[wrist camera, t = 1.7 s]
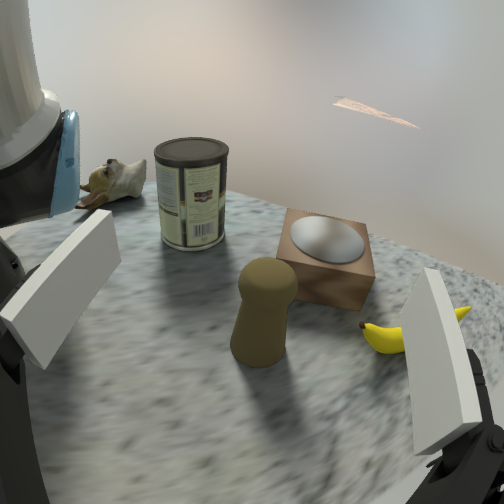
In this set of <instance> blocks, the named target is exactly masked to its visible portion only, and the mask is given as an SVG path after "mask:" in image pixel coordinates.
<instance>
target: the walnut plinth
mask: <svg viewBox="0 0 504 504" xmlns="http://www.w3.org/2000/svg"><path fill="white" fill-rule="evenodd" d="M276 259H279V260H282V261H284V262H285V263H287V264H288V265H289V266H290V267H291V268H292V269H293V270H294V272H295V274H296V276H297V281H298V290H297V293H296V296H295V298H294V299H295V300H301V301H306V302H311V303H317V304H322V305H328V306H333V307H339V308H345V309H350V310H356V311H360V310H361V308H362V305H363V303H364V301H365V299H366V297H367V295H368V293H369V290H370V288H371V286H372V284H373V282H374V279H375V271H374V265H373V259H372V253H371V248H370V243H369V238H368V233H367V228H366V224H363V223H359V222H354V221H349V220H345V219H339V218H335V217H330V216H325V215H320V214H316V213H310V212H305V211H300V210H295V209H290V208H287V211H286V215H285V220H284V224H283V229H282V233H281V238H280V242H279V247H278V251H277V256H276Z"/></svg>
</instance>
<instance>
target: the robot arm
mask: <svg viewBox="0 0 504 504" xmlns="http://www.w3.org/2000/svg"><path fill="white" fill-rule="evenodd" d="M79 194H80V131H79V117H78V113H77V112H76V111H69V110H65V111H64V112H62V113H61V109H60V104H59V101H58V99H57V97H56V95H55V94H54V93H52V92H51V91H49V90H45V89H42V88H41V86H40V82H39V77H38V72H37V66H36V61H35V55H34V50H33V43H32V36H31V28H30V19H29V8H28V0H0V228H4V227H8V226H12V225H17V224H21V223H25V222H30V221H35V220H40V219H45V218H52V217H53V216H54V215H58V214H62V213H65V212H69V211H71V210H73V209H74V208H75V207H76V205H77V203H78V200H79ZM120 262H121V257H120V252H119V247H118V243H117V238H116V233H115V227H114V222H113V217H112V211H107V210H101V209H98V210H97V211H95V212H94V213H93V214H92V215H91V216H90V217H89V218H88V219H87V220H86V221H85V222H83V223H82V224H81V225H80V226H79V227H78V228H77V229H76V230H75V231H74V232H73V233H72V234H71V235H70V236H69V237H68V238H67V239H66V240H65V241H64V242H63V243H62V244H61V245H60V246H59V247H58V248H57V249H56V250H55V251H54V252H53V253H52V254H51V255H50V256H49V257H48V258H47V259H46V260H45V261H44V262H43V263H42V264H39V265H38V266H36V267H35V268H33V269H32V270H30V271H29V272H28V273H27V274H26V275H25V272H24V269H23V267H22V264H21V262H20V260H19V258H18V256H17V255H16V254H15V253H14V252H13V250H12V249H11V248H10V247H9V246H8V245H7V244H6V242H5V241H4V240H3V239H2V238H1V236H0V504H50V503H49V500H48V497H47V493H46V490H45V486H44V483H43V479H42V475H41V472H40V467H39V463H38V459H37V454H36V450H35V445H34V439H33V434H32V428H31V422H30V415H29V407H28V398H27V388H26V375H25V364H24V360H23V359H22V358H23V356H24V355H25V354H26V356H27V357H28V358H29V360H30V361H31V362H32V363H33V364H35V365H37V366H38V367H40V368H42V369H44V370H45V369H46V368H47V366H48V365H49V363H50V361H51V360H52V358H53V357H54V355H55V354H56V352H57V350H58V349H59V347H60V346H61V344H62V343H63V341H64V340H65V338H66V337H67V335H68V334H69V332H70V331H71V329H72V328H73V326H74V325H75V323H76V322H77V321H78V319H79V318H80V316H81V315H82V313H83V312H84V311H85V309H86V308H87V306H88V305H89V304H90V302H91V301H92V299H93V298H94V297H95V295H96V294H97V293H98V291H99V290H100V288H101V287H102V286H103V284H104V283H105V282H106V280H107V279H108V278H109V276H110V275H111V274H112V273H113V271H114V270H115V269H116V267H117V266H118V265H119V264H120ZM399 318H400V324H401V329H402V335H403V341H404V348H405V354H406V361H407V369H408V377H409V385H410V395H411V406H412V418H413V435H414V456H418V455H432V454H434V453H436V452H437V451H439V450H441V449H442V452H443V455H442V456H440V457H439V458H437V459H435V460H433V461H431V462H430V463H429V464H428V465H427V466H426V467H427V468H428V467H430V466H432V465H434V464H435V465H434V466H433V467H432V469H431V470H430V472H429V473H428V475H427V476H426V477H425V479H424V480H423V482H422V483H421V484H420V486H419V487H418V489H417V490H416V491H415V492H414V494H413V495H412V496H411V497H410V499H409V500H408V501H407V503H406V504H504V490H503V491H502V492H500V488H501V485H502V484H504V430H503V429H502V428H501V427H500V426H498V425H495V424H494V421H493V416H492V410H491V405H490V401H489V396H488V391H487V387H486V386H485V379H484V376H483V371H482V367H481V364H480V361H479V359H478V357H477V356H476V354H475V352H474V351H473V349H466V347H465V343H464V340H463V337H462V333H461V330H460V327H459V324H458V321H457V318H456V315H455V312H454V309H453V306H452V303H451V300H450V298H449V295H448V292H447V290H446V287H445V284H444V282H443V279H442V277H441V274H440V272H439V270H434V269H429V268H423V270H422V272H421V274H420V276H419V278H418V280H417V282H416V284H415V286H414V288H413V290H412V291H411V293H410V295H409V297H408V299H407V301H406V302H405V304H404V306H403V308H402V310H401V311H400V313H399Z"/></svg>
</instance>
